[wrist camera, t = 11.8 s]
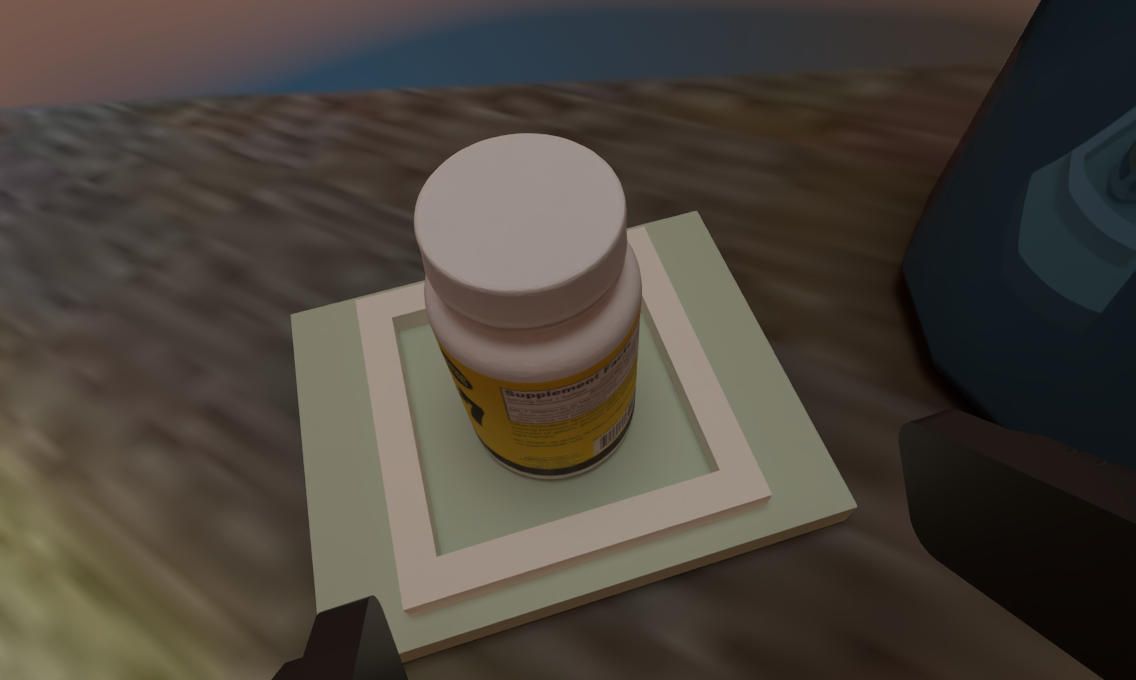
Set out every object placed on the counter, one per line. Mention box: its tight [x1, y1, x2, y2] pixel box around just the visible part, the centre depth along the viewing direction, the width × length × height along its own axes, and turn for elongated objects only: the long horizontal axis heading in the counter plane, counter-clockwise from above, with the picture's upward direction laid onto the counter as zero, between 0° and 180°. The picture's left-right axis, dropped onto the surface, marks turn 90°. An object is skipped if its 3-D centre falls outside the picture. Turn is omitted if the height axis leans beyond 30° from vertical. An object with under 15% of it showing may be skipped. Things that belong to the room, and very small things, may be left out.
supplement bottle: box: [414, 133, 642, 479], centre depth 16 cm, size 5×5×8 cm
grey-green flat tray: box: [291, 211, 858, 663], centre depth 20 cm, size 14×11×2 cm
